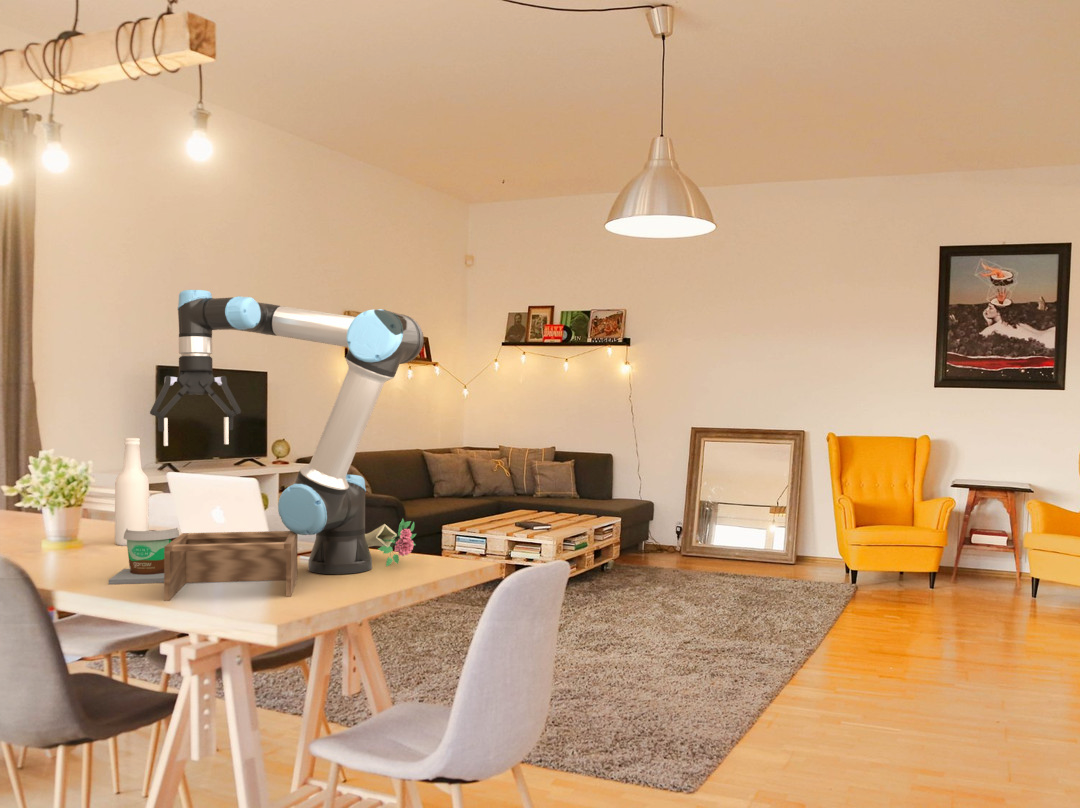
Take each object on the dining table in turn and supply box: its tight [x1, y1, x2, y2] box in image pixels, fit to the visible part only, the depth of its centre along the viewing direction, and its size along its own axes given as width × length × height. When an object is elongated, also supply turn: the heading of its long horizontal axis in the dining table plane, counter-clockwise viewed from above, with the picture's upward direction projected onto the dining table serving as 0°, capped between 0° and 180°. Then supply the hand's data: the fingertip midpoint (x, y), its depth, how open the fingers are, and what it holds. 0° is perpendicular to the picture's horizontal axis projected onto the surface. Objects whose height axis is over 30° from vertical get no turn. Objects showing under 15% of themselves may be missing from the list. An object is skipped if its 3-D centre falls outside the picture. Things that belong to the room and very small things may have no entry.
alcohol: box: [114, 437, 150, 547], centre depth 266 cm, size 9×9×30 cm
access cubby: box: [163, 530, 298, 602], centre depth 203 cm, size 25×20×11 cm
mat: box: [107, 568, 164, 585], centre depth 215 cm, size 14×14×1 cm
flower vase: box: [365, 518, 417, 567], centre depth 239 cm, size 12×12×35 cm
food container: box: [124, 527, 180, 575], centre depth 215 cm, size 12×6×10 cm, turn 98°
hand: (196, 445), depth 223 cm, fingers open, 13 cm apart
